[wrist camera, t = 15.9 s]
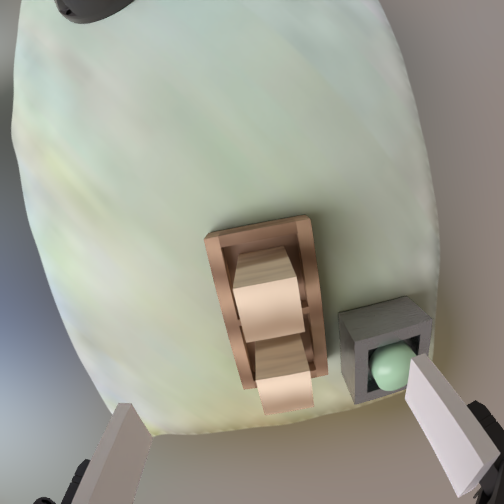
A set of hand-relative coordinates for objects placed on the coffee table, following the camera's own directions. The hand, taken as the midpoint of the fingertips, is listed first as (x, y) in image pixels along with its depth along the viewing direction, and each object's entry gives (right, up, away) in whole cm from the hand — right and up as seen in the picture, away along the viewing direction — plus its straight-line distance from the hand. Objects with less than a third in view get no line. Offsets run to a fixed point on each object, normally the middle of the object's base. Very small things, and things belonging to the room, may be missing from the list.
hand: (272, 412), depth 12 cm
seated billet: (+2, -4, +24) cm, 24 cm away
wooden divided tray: (+1, +1, +24) cm, 24 cm away
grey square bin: (+16, -4, +25) cm, 30 cm away
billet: (+1, +5, +21) cm, 22 cm away
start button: (+16, -6, +20) cm, 26 cm away
